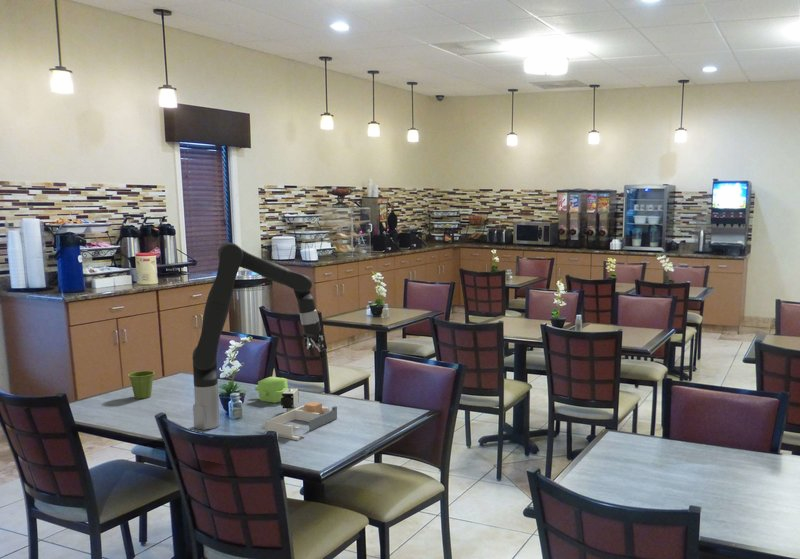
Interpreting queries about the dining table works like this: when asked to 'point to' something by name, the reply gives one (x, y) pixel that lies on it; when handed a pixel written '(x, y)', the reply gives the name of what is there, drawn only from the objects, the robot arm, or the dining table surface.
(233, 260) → the robot arm
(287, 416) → the tray
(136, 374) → the plant pot
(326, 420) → the grey flat board
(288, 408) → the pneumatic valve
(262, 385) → the lime green lidded box
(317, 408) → the block
